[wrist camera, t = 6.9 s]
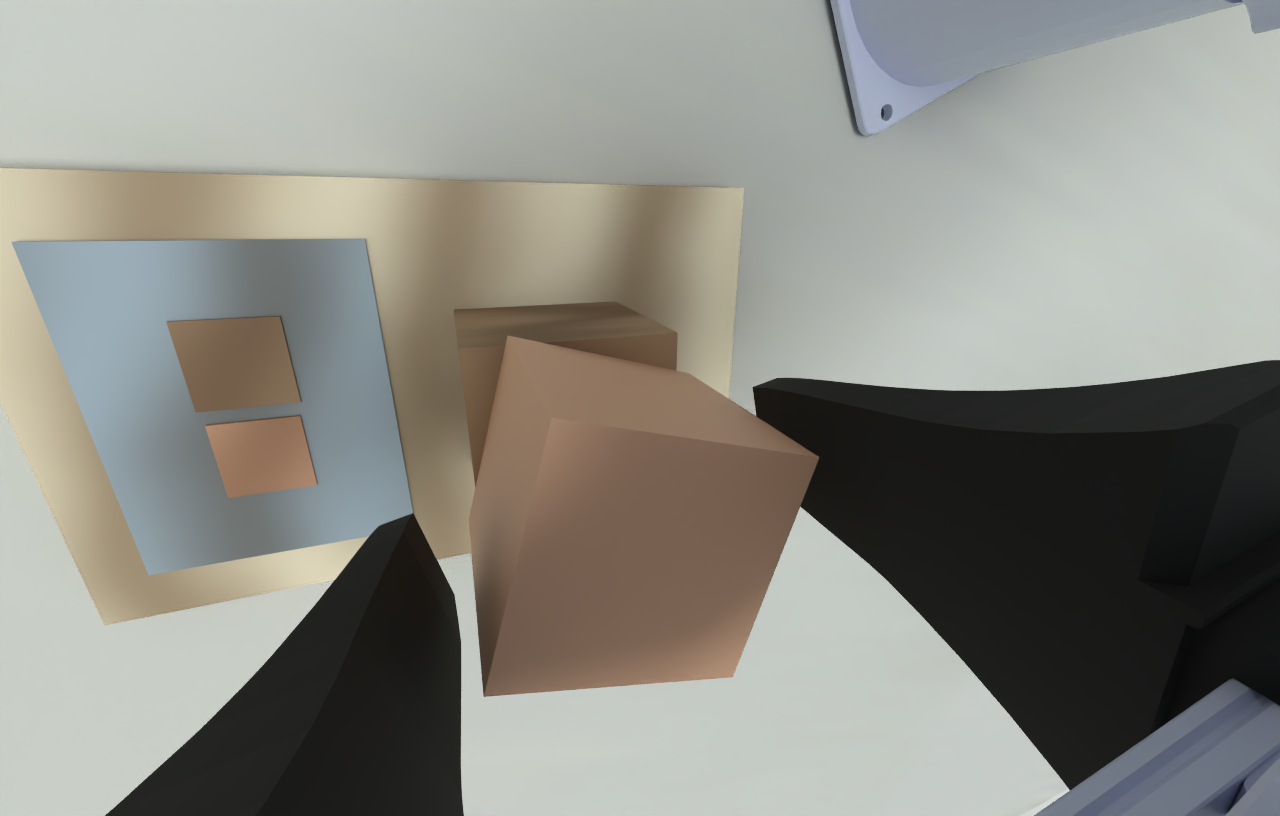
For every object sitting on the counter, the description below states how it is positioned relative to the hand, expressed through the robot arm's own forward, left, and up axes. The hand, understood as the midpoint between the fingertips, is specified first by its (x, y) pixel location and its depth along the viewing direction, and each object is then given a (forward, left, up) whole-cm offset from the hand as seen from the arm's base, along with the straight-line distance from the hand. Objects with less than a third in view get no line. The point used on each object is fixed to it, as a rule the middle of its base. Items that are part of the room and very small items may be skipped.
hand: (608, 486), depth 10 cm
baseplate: (+3, -1, -8) cm, 9 cm away
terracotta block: (0, 0, -2) cm, 2 cm away
